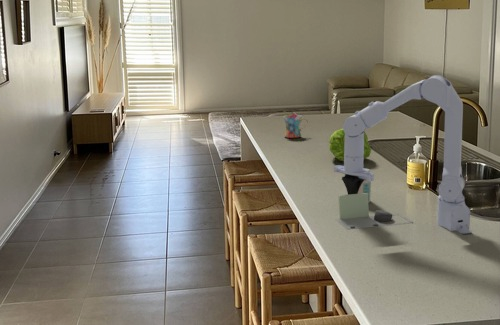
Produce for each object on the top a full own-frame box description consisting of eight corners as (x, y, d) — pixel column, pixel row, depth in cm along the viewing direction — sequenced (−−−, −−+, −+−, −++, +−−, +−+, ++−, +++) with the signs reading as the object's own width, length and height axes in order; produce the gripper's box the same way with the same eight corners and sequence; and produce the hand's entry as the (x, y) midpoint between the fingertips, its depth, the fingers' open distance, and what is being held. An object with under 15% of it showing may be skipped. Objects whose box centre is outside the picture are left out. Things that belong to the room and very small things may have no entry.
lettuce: (360, 153, 289) (355, 121, 287) (377, 159, 265) (371, 124, 263) (323, 161, 287) (317, 129, 285) (336, 167, 263) (330, 132, 261)
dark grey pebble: (393, 224, 190) (395, 216, 190) (379, 222, 188) (381, 214, 188) (384, 218, 195) (386, 211, 194) (370, 217, 193) (372, 209, 193)
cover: (367, 193, 194) (366, 192, 195) (339, 195, 192) (337, 195, 193) (368, 216, 194) (367, 215, 196) (340, 219, 192) (338, 218, 194)
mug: (284, 139, 319) (284, 117, 317) (282, 135, 328) (282, 114, 326) (308, 138, 320) (308, 117, 318) (306, 135, 329) (306, 114, 327)
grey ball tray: (413, 227, 188) (413, 221, 188) (346, 234, 184) (346, 227, 183) (399, 218, 197) (399, 212, 196) (335, 224, 192) (335, 218, 192)
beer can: (359, 202, 214) (360, 167, 211) (372, 204, 211) (373, 169, 208) (352, 205, 210) (353, 169, 207) (365, 208, 207) (366, 172, 204)
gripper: (381, 157, 190) (379, 202, 193) (345, 149, 201) (344, 191, 204) (364, 161, 186) (363, 206, 189) (329, 152, 197) (328, 195, 200)
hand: (352, 199), depth 197 cm, fingers closed
